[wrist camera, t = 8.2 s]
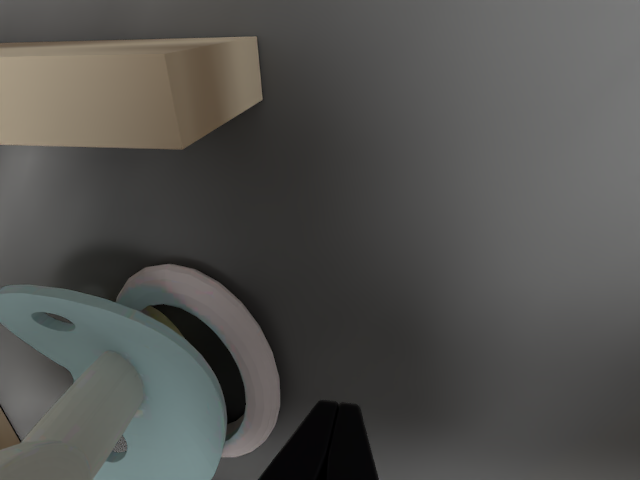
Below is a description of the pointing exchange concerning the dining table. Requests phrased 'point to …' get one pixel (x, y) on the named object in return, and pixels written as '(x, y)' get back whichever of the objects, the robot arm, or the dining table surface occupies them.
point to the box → (123, 96)
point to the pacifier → (139, 381)
